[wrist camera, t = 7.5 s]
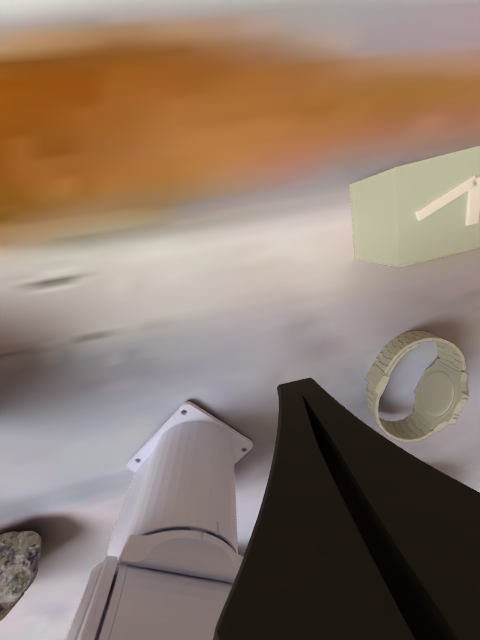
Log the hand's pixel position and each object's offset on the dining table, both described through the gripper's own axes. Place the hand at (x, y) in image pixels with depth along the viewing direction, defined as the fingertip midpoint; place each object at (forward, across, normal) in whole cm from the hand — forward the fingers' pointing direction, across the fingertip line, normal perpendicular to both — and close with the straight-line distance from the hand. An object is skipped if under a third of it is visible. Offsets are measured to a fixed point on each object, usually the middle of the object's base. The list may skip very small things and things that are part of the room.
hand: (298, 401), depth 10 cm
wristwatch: (+11, -10, +9) cm, 17 cm away
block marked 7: (+11, -10, -5) cm, 16 cm away
